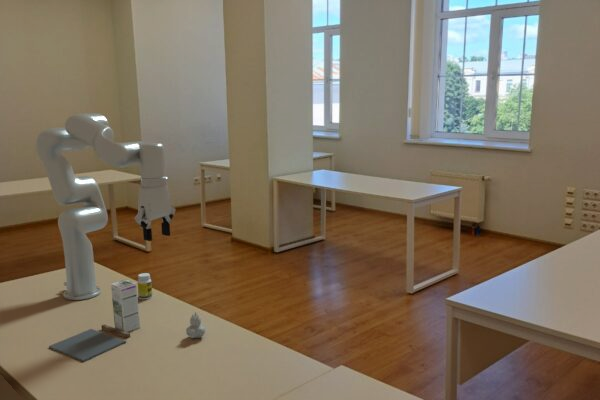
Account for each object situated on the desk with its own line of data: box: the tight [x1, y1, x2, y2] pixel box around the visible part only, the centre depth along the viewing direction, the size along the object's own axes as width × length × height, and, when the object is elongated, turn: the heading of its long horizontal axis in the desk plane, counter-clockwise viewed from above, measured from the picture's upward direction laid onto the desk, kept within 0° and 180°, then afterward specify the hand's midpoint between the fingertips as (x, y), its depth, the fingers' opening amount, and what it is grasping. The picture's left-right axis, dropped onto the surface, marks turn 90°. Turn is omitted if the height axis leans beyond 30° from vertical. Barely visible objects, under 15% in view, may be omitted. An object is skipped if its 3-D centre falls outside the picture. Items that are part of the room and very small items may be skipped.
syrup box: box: [110, 279, 141, 333], centre depth 168 cm, size 6×6×14 cm
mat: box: [48, 328, 127, 363], centre depth 158 cm, size 16×14×1 cm
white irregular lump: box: [185, 311, 206, 339], centre depth 161 cm, size 5×7×8 cm
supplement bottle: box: [137, 272, 153, 300], centre depth 195 cm, size 5×5×8 cm
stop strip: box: [101, 324, 131, 339], centre depth 166 cm, size 12×1×1 cm, turn 56°
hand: (157, 237), depth 176 cm, fingers open, 6 cm apart
